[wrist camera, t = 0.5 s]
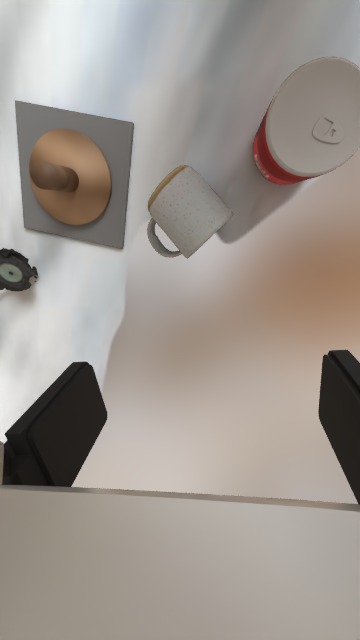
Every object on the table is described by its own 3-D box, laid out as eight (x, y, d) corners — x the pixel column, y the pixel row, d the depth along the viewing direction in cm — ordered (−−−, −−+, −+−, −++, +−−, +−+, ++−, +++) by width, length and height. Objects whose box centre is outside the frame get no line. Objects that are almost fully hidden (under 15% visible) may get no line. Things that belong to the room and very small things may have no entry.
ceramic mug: (190, 163, 32) (180, 153, 25) (233, 213, 34) (235, 216, 27) (137, 227, 37) (116, 233, 30) (178, 268, 38) (167, 283, 31)
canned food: (307, 191, 32) (346, 185, 22) (243, 176, 32) (252, 164, 22) (336, 115, 28) (397, 67, 18) (264, 99, 29) (287, 44, 19)
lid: (31, 123, 32) (-11, 105, 27) (115, 139, 32) (90, 124, 26) (36, 215, 37) (1, 217, 31) (109, 231, 36) (87, 236, 31)
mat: (18, 102, 32) (14, 100, 32) (134, 124, 31) (132, 122, 31) (27, 227, 39) (24, 227, 38) (123, 248, 38) (121, 248, 37)
